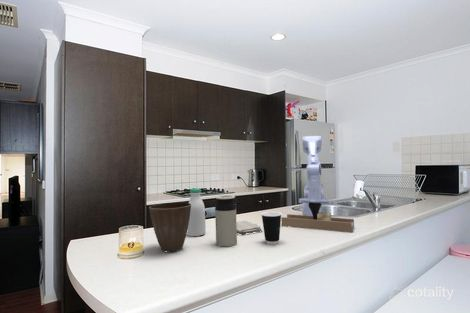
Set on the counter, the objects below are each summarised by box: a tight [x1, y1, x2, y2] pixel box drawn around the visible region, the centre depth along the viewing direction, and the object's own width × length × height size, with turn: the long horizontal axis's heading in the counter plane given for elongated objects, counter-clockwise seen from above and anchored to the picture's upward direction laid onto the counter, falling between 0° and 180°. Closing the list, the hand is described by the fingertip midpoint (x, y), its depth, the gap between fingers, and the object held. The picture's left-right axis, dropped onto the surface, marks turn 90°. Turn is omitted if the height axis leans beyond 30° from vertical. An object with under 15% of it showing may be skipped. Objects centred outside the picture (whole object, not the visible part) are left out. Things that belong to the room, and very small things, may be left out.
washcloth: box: [236, 220, 263, 234], centre depth 127 cm, size 12×18×3 cm, turn 28°
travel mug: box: [214, 194, 238, 247], centre depth 106 cm, size 8×8×18 cm
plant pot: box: [148, 201, 191, 253], centre depth 101 cm, size 15×15×16 cm
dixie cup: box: [260, 211, 282, 245], centre depth 106 cm, size 8×8×11 cm
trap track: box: [281, 213, 355, 234], centre depth 128 cm, size 31×9×4 cm, turn 60°
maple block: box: [317, 211, 332, 221], centre depth 126 cm, size 5×5×4 cm
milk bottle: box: [187, 187, 206, 237], centre depth 120 cm, size 8×8×20 cm
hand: (315, 219), depth 128 cm, fingers closed
